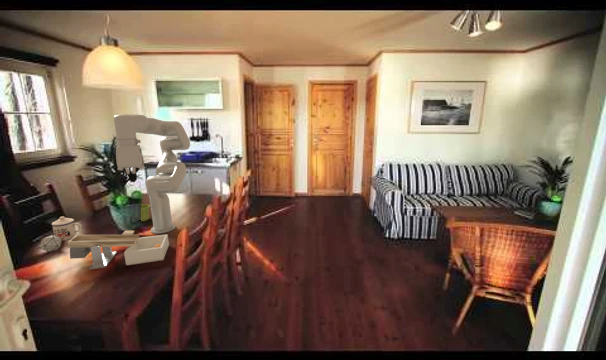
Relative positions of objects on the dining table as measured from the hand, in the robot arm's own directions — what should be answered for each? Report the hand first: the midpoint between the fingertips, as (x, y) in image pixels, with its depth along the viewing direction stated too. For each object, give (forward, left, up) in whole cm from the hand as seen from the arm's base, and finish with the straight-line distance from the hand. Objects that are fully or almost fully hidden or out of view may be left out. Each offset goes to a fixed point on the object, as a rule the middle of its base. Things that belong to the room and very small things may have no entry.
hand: (133, 181), depth 124 cm
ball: (+11, +9, -30) cm, 34 cm away
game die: (-7, -40, -33) cm, 52 cm away
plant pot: (-39, -9, -33) cm, 52 cm away
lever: (+7, -12, -30) cm, 33 cm away
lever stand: (+11, -13, -33) cm, 37 cm away
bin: (+11, +5, -33) cm, 35 cm away
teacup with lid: (-23, -40, -33) cm, 57 cm away
